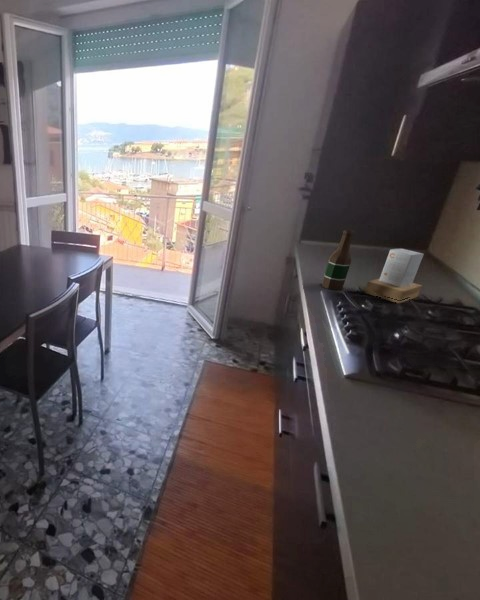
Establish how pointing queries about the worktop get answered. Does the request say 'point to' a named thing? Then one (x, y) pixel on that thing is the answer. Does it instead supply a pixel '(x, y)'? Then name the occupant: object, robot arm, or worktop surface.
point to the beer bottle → (339, 264)
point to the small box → (401, 267)
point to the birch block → (392, 290)
